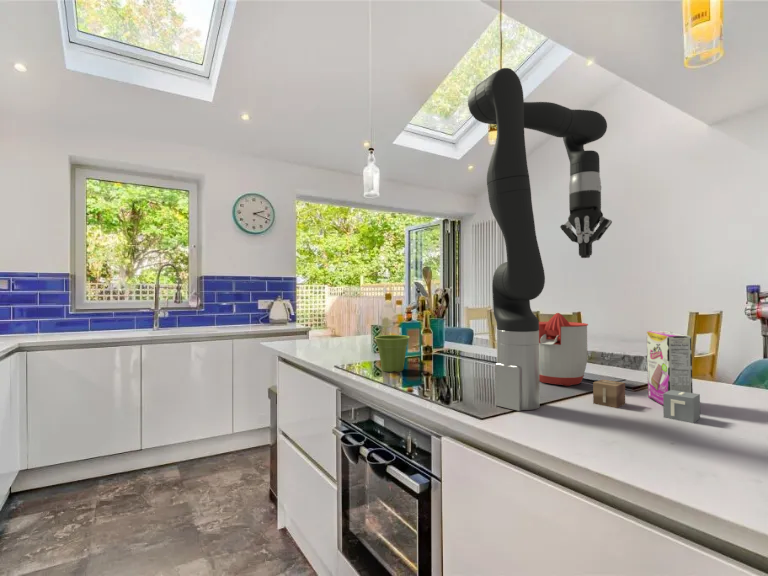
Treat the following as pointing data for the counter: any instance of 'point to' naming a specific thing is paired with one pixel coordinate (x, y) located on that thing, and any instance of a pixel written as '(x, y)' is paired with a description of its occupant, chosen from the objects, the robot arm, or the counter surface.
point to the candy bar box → (668, 363)
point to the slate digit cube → (681, 406)
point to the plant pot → (392, 351)
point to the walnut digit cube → (609, 393)
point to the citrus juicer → (562, 351)
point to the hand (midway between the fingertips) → (585, 257)
